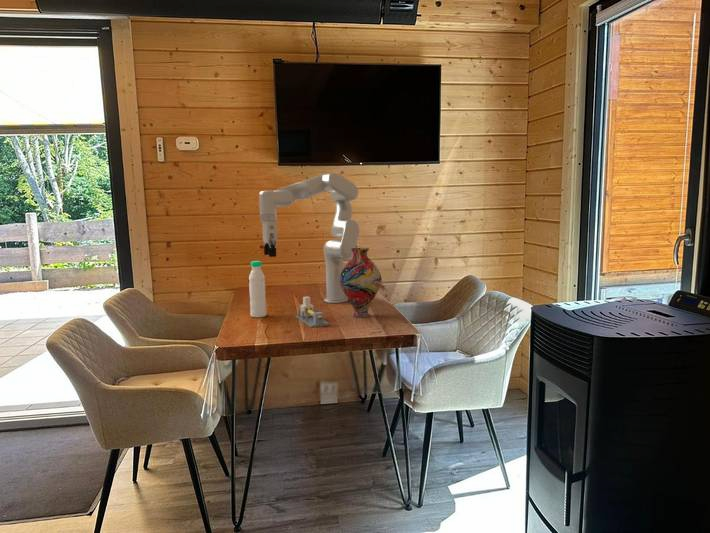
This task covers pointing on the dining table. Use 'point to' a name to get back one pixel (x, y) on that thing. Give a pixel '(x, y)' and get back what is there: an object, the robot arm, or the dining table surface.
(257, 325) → the dining table surface
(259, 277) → the water bottle
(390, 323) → the dining table surface
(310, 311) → the gray rack
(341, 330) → the dining table surface
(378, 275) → the vase
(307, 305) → the small white bottle
